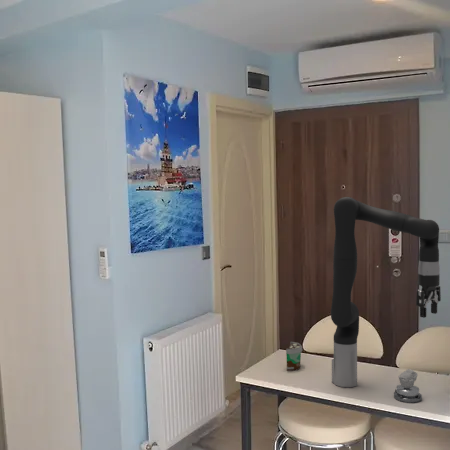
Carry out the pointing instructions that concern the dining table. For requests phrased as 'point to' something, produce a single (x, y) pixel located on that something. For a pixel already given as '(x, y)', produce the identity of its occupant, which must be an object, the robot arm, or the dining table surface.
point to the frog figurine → (408, 378)
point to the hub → (407, 394)
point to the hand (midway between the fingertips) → (428, 315)
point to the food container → (293, 356)
